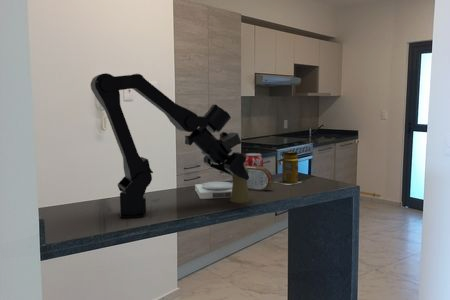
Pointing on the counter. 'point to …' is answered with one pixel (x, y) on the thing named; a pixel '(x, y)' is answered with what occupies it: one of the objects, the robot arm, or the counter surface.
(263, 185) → the tin
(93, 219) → the counter surface
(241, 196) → the cork
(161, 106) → the robot arm
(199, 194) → the scale
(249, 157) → the soda can
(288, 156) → the condiment
